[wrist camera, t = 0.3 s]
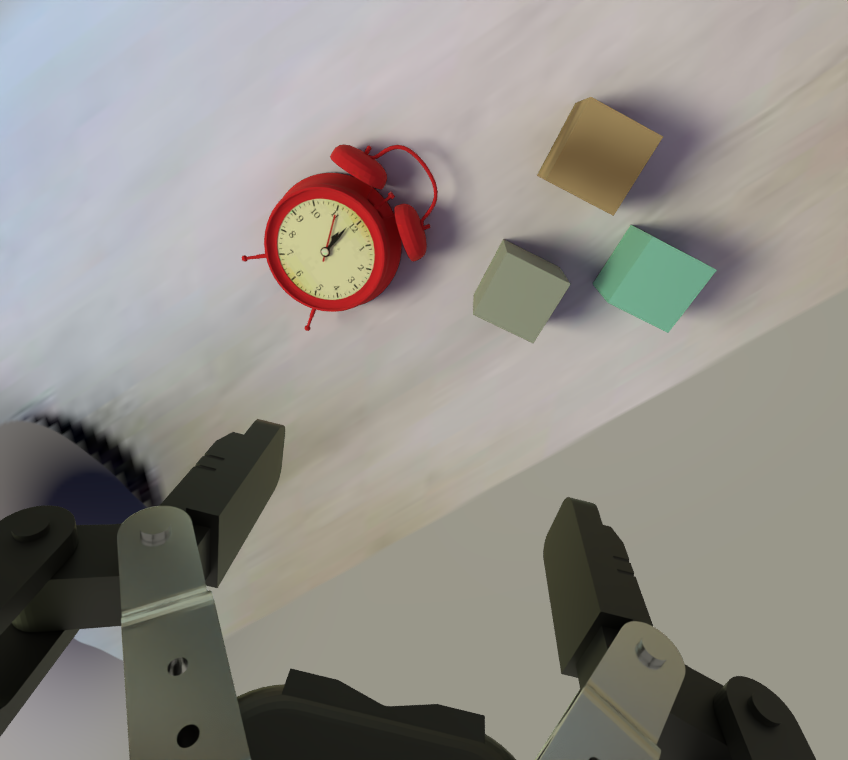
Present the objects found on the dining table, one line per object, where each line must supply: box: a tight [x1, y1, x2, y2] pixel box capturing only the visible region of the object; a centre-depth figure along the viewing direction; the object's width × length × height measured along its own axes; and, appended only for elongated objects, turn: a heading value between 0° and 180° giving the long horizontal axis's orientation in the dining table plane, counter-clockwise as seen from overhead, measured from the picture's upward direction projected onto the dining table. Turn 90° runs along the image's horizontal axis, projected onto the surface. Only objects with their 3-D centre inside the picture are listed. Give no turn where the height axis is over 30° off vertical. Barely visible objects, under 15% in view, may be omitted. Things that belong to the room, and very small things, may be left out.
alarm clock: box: [242, 145, 438, 331], centre depth 35 cm, size 10×6×15 cm
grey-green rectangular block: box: [473, 239, 570, 343], centre depth 36 cm, size 5×5×5 cm
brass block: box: [537, 97, 663, 216], centre depth 31 cm, size 5×5×5 cm
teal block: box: [593, 225, 717, 333], centre depth 34 cm, size 5×5×5 cm
